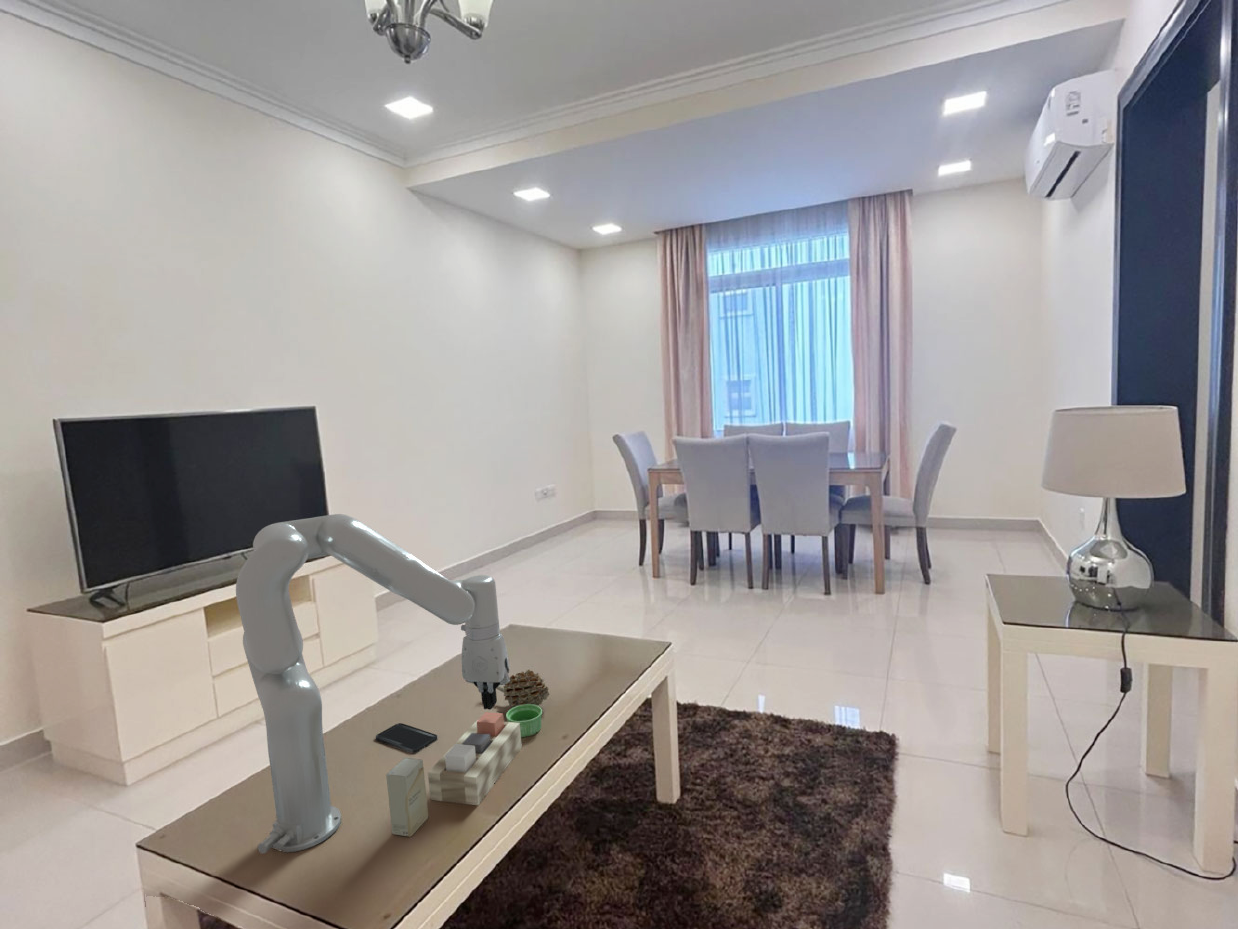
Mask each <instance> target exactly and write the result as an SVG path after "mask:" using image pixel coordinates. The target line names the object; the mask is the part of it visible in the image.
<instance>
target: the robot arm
mask: <svg viewBox="0 0 1238 929" xmlns="http://www.w3.org/2000/svg"><path fill="white" fill-rule="evenodd" d="M252 547H253V548H252V550H253V553H251V554H250V555H249V557H248V558H247V559H246V560H245V562H244V564H243V565H242V568H240V571H239V573H238V576H237V579H236V583H235V584H236V585H235V596H236V603H237V608H238V612H239V616H240V619H241V620H240V621H241V624H242V628H243V631H244V632H243V634H242V645H243V650H244V653H245V654H244V655H245V656H246V657H245V658H246V660H247V664H248V667H249V670H250V675H251V677H252V680H253V684H254V687H255V691H256V694H257V696H258V699H259V701H260V705H261V708H262V712H263V715H264V720H265V729H266V740H267V752H268V760H269V765H270V766H269V767H270V774H271V782H272V784H271V785H272V791H273V799H274V807H275V808H274V809H275V815H276V820H275V821H274V822H273V823H272V829H271V831H270V834H269V836H268V837H265V838H264V840H262V841H261V842H260V843H259V844H258V845H257V849H258V851H259V853H260V854H265V853H267V852H268V851H269V850H270V849H274V848H276V849H278V850H281V851H284V853H293V852H299V851H303V850H307V849H310V848H312V847H315V846H317V845H318V844H321V843H322V842H324V841H325V840H327V839H328V838H329V837H331V836H332V835H333V834H334V833H335V832H336V831H337V829H338V828H339V827H340V824H341V823H342V814H341V811H340V810H339V809H338V808H337V807H335V806H334V805H332V804H331V803H332V802H331V792H330V784H329V775H328V774H329V773H328V766H327V765H328V764H327V757H326V749H325V743H324V742H325V741H324V731H323V703H322V696H321V693H320V690H319V688H318V685H317V683H316V682H315V680H314V679H313V677H312V676H311V675H310V673H309V672H308V668H307V666H306V662H305V659H304V655H303V650H304V640H303V635H302V633H301V630H300V629H299V625H298V623H297V619H296V617H295V613H294V609H293V605H292V599H291V596H290V589H289V587H290V583H291V580H292V578H293V577H294V575H295V574H296V573H297V572H298V571H299V570H300V569H301V568H302V567H303V566H304V564H305V563H306V561H307V560H309V559H315V558H320V557H324V556H329V555H330V556H331V557H333V559H336V560H337V561H339V562H341V563H342V564H344V565H346V566H348V567H349V568H351V569H352V570H354V571H356V572H357V573H360V574H362V575H363V576H365V577H366V578H368V579H369V580H371V581H373V582H375V583H376V584H378V585H380V586H381V587H383V588H384V589H386V590H388V591H389V592H392V593H393V594H395V595H398V596H400V597H402V598H404V599H405V600H408V601H410V602H412V603H413V604H415V605H417V606H418V607H420V608H422V609H424V610H425V611H427V612H428V613H431V614H432V615H433V616H435V617H437V618H439V619H440V620H442V621H444V622H445V623H447V624H449V625H452V626H453V625H454V626H459V625H461V626H460V631H464V633H465V636H464V637H463V638H462V647H461V673H462V678H463V679H464V680H465V682H466V683H470V684H473V685H474V686H475V687H476V688H477V689H478V692H479V693H480V694H481V695H480V696H481V703H482V705H483V706H482V707H483V710H492V709H493V708H494V707H495V705H497V703H498V698H497V697H498V696H497V689H496V688H497V687H498V686H499V685H500V686H505V685H504V684H507V683H508V682H509V681H510V676H509V673H510V662H509V661H510V660H509V654H508V648H507V645H506V642H505V637H504V635H503V633H500V632H501V631H500V630H501V629H500V621H499V611H498V609H499V608H498V599H497V598H498V597H497V587H496V586H497V585H496V581H495V579H494V578H493V577H492V576H490V575H487V574H480V575H474V576H470V577H468V578H466V579H460V580H459V579H458V580H450V579H449V578H447V577H445V576H443V575H442V574H440V573H439V572H437V571H435V570H434V569H433V568H432V567H430V566H428V565H427V564H425V563H424V562H423V561H422V560H420V559H419V558H418V557H416V556H415V555H414V554H412V553H411V552H409V551H408V550H406V549H405V548H402V547H401V546H400V545H398V544H397V543H395V542H394V541H391V539H388V538H387V537H385V536H384V535H382V534H380V533H379V532H377V531H376V530H374V529H372V528H371V527H369V525H366V524H365V523H363V522H362V521H360V520H359V519H357V518H354V517H352V516H349V515H347V514H342V513H335V514H328V515H323V516H322V515H321V516H314V517H310V518H309V517H308V518H301V519H296V520H294V519H293V520H288V521H281V522H275V523H272V524H269V525H267V526H265V527H263V528H261V530H259V531H258V532H257V534H256V535H255V537H254V539H253V542H252ZM272 847H273V848H272ZM278 850H277V851H278ZM281 851H280V852H281Z"/></svg>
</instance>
